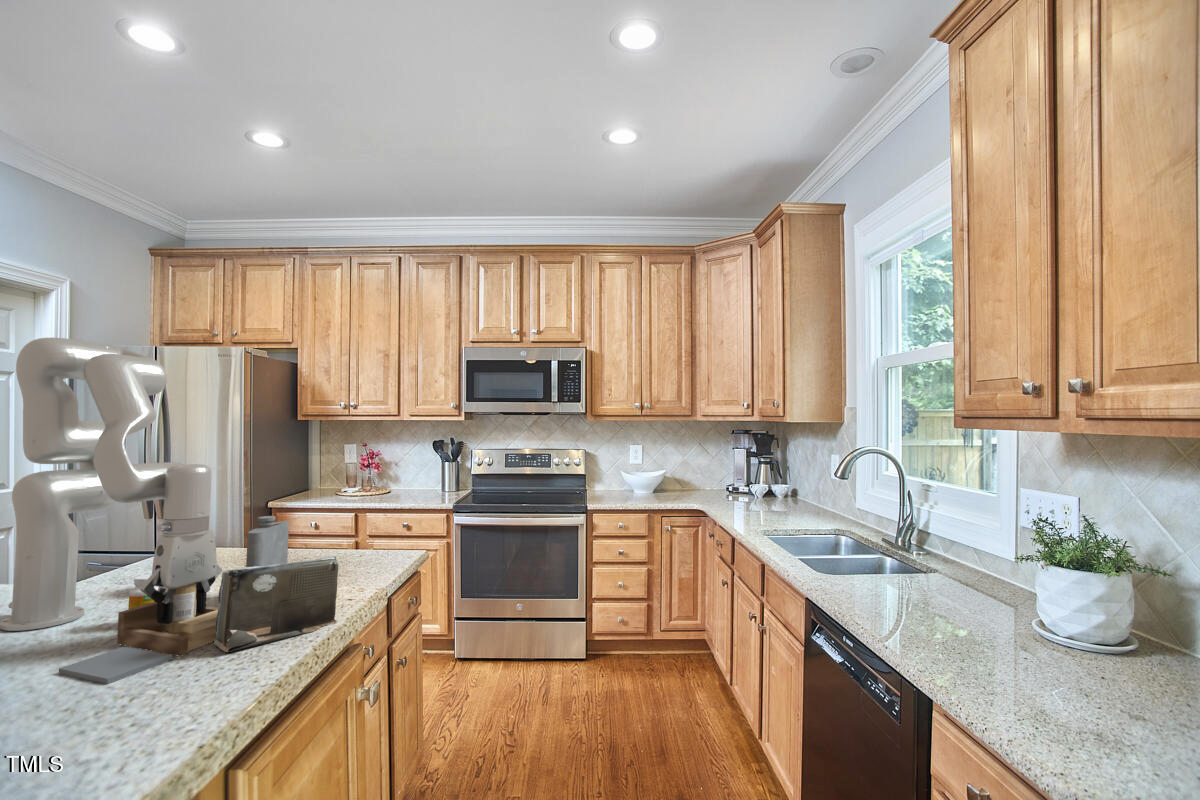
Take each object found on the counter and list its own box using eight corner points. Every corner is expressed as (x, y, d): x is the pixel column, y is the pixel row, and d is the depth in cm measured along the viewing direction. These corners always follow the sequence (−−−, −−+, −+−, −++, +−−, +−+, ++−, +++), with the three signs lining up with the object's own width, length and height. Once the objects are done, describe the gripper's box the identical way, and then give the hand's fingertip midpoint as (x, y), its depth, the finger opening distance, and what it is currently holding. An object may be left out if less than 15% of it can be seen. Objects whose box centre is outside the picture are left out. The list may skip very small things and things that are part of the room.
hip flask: (256, 611, 125) (260, 521, 126) (237, 611, 124) (241, 522, 125) (288, 590, 140) (291, 511, 141) (271, 591, 140) (274, 511, 141)
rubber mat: (58, 673, 93) (58, 668, 93) (125, 650, 102) (125, 646, 102) (107, 684, 89) (107, 678, 89) (171, 659, 99) (172, 654, 99)
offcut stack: (172, 648, 103) (173, 624, 104) (227, 628, 114) (228, 606, 114) (187, 651, 102) (188, 626, 102) (242, 630, 113) (243, 608, 113)
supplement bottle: (141, 629, 113) (144, 580, 114) (120, 626, 114) (123, 579, 115) (167, 620, 118) (169, 574, 119) (146, 618, 119) (149, 572, 120)
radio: (334, 614, 123) (336, 547, 124) (350, 624, 117) (353, 553, 118) (209, 644, 106) (212, 565, 107) (221, 657, 100) (225, 573, 101)
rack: (116, 644, 105) (118, 612, 105) (195, 618, 119) (196, 590, 120) (180, 656, 100) (182, 622, 100) (254, 628, 114) (256, 598, 115)
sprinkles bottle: (197, 629, 113) (200, 562, 114) (192, 636, 109) (195, 567, 110) (169, 632, 111) (173, 564, 112) (163, 640, 107) (167, 570, 108)
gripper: (153, 535, 102) (148, 634, 101) (239, 520, 118) (236, 606, 118) (125, 532, 104) (120, 629, 103) (213, 518, 121) (209, 602, 120)
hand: (181, 616), depth 110 cm, fingers open, 5 cm apart
